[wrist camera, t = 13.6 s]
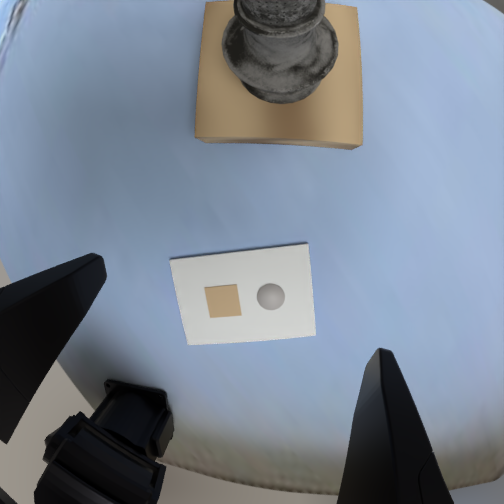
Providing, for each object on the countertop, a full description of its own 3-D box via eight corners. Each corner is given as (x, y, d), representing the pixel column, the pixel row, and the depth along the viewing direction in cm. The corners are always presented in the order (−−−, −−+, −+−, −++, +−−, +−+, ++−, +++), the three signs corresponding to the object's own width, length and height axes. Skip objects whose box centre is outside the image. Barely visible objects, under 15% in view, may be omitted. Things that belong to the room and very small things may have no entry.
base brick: (206, 143, 21) (194, 137, 18) (214, 21, 18) (205, 2, 15) (351, 149, 20) (362, 144, 17) (348, 25, 18) (357, 7, 15)
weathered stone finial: (348, 67, 16) (421, -52, 4) (282, 128, 17) (285, 38, 5) (278, 11, 15) (269, -127, 4) (212, 68, 17) (129, -50, 5)
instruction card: (189, 343, 24) (187, 345, 24) (170, 259, 23) (168, 260, 22) (315, 333, 23) (316, 335, 22) (307, 243, 21) (308, 244, 21)
